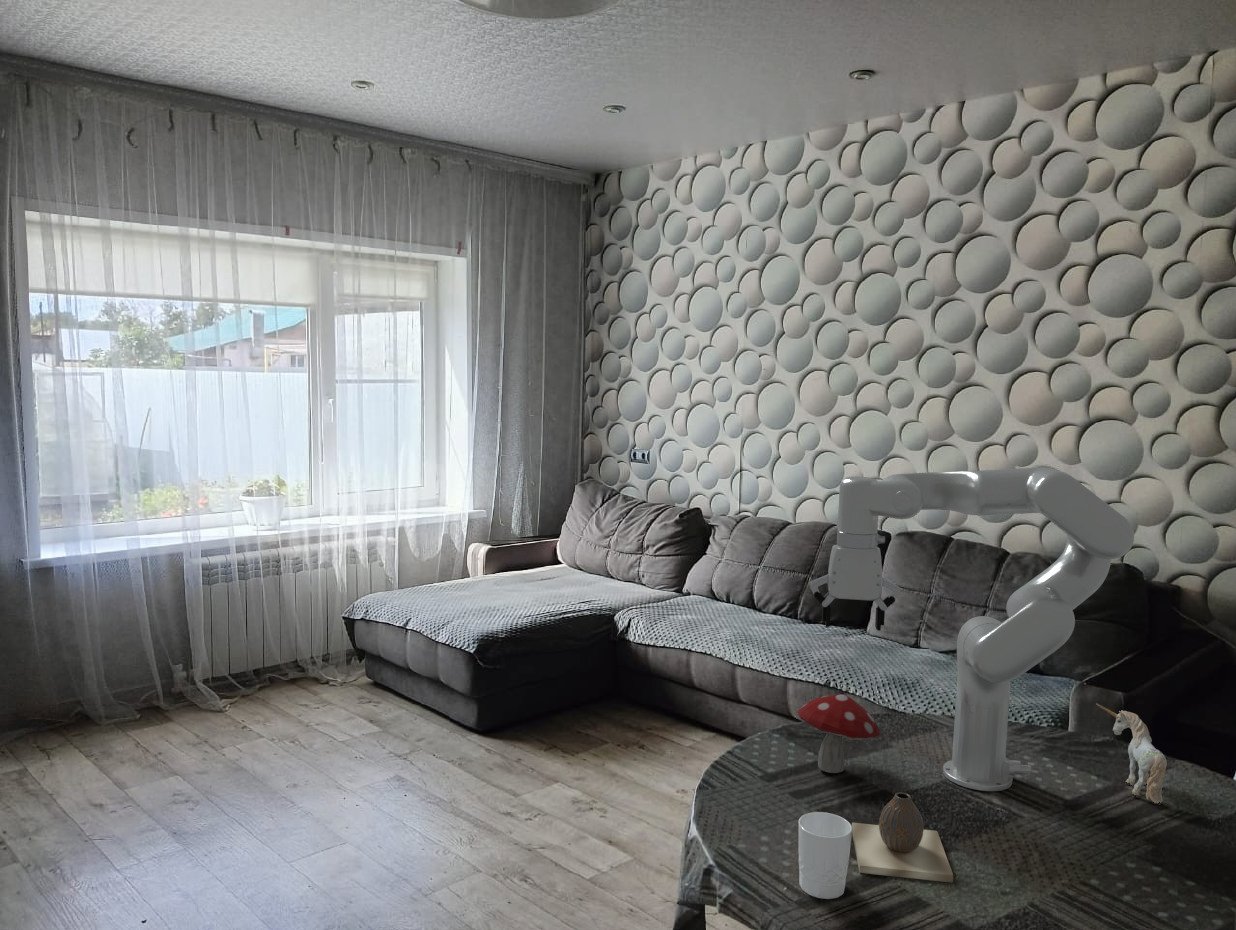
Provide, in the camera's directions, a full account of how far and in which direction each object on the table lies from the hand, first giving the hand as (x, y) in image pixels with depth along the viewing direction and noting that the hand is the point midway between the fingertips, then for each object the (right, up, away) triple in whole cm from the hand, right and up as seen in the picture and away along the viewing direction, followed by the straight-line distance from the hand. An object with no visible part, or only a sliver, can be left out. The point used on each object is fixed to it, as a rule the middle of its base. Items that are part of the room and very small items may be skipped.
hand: (852, 627), depth 181 cm
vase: (0, -31, -30) cm, 43 cm away
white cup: (-15, -33, -40) cm, 54 cm away
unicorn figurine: (+51, -30, -4) cm, 59 cm away
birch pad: (0, -32, -30) cm, 44 cm away
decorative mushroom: (-3, -29, +1) cm, 29 cm away
